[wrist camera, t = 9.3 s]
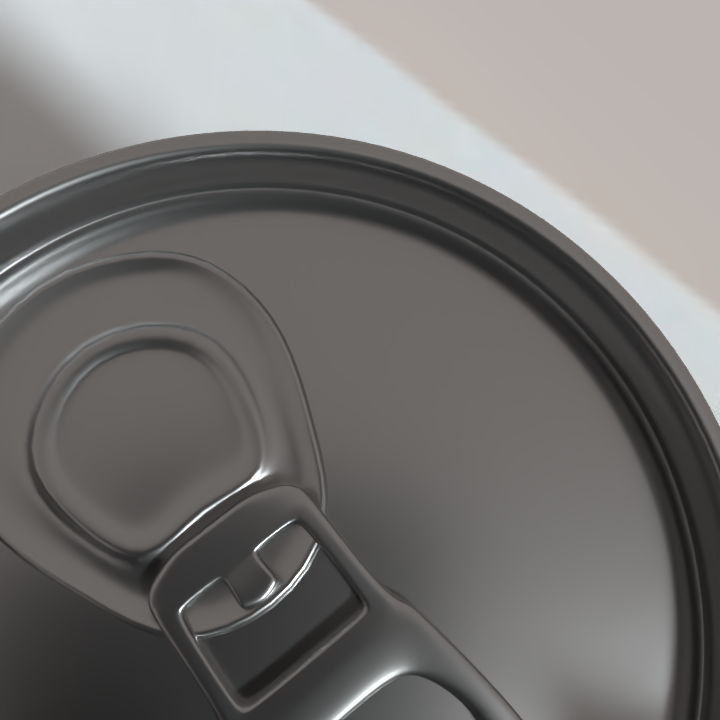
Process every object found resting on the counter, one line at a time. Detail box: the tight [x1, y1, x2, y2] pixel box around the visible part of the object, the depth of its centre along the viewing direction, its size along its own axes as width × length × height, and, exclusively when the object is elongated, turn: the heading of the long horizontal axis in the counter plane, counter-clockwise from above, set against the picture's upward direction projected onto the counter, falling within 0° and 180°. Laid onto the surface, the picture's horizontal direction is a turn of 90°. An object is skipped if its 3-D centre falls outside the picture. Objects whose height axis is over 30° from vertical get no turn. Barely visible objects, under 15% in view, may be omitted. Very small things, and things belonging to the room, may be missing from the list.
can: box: [0, 131, 720, 720], centre depth 9 cm, size 6×6×12 cm
